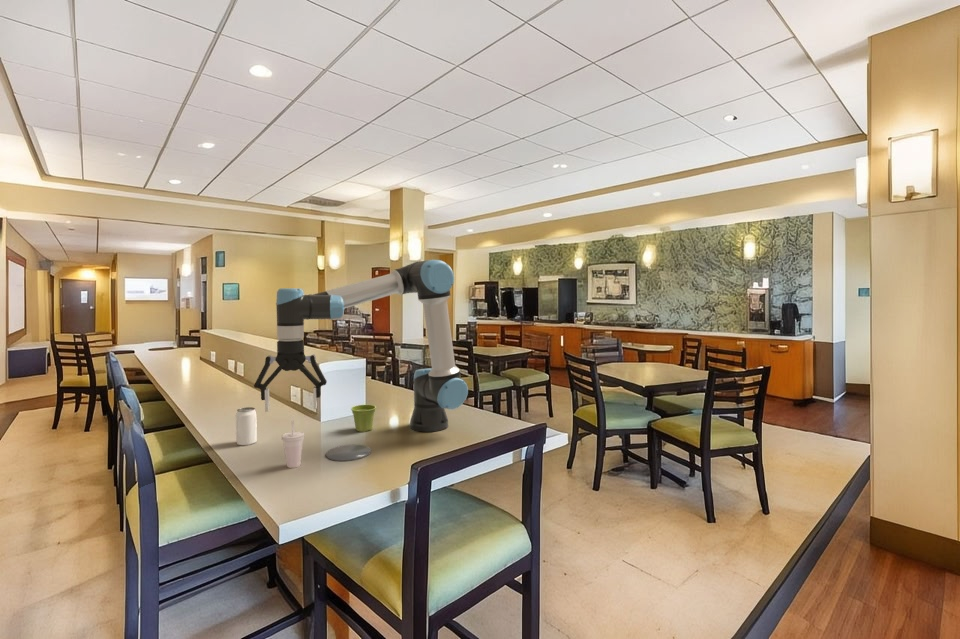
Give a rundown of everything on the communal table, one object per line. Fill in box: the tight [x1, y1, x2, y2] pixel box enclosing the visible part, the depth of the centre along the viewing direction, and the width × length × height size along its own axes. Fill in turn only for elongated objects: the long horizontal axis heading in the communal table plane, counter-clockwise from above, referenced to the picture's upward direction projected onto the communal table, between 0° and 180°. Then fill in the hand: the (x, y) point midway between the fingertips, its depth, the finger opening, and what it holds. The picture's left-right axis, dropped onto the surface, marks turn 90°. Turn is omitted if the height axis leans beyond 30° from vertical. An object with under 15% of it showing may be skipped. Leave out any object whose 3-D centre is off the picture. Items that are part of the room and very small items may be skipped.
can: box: [235, 406, 258, 446], centre depth 162 cm, size 6×6×12 cm
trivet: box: [326, 444, 372, 462], centre depth 152 cm, size 14×14×1 cm
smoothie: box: [281, 420, 305, 469], centre depth 141 cm, size 6×6×14 cm
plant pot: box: [350, 404, 377, 433], centre depth 178 cm, size 9×9×9 cm
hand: (291, 409), depth 140 cm, fingers open, 13 cm apart
